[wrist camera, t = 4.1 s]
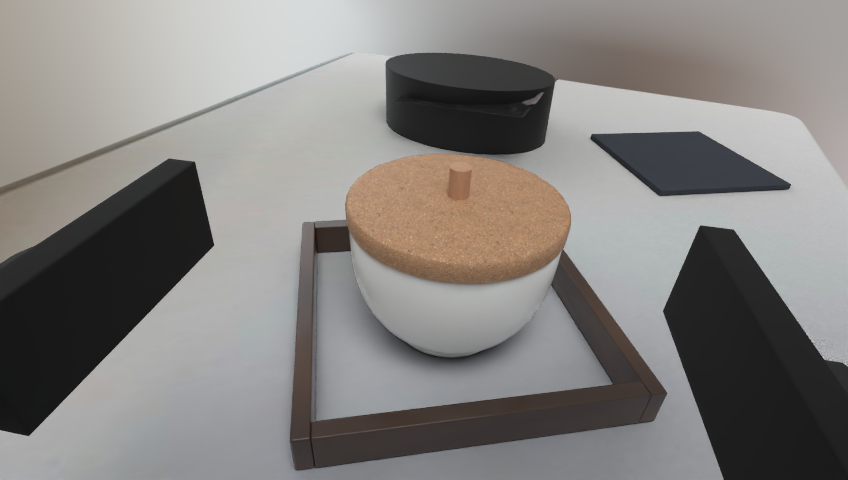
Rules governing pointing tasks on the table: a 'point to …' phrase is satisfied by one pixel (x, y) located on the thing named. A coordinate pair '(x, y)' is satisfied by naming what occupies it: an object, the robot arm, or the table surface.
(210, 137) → the table surface
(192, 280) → the table surface
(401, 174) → the trinket box
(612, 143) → the mat
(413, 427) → the dark wooden square frame
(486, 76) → the tape dispenser
